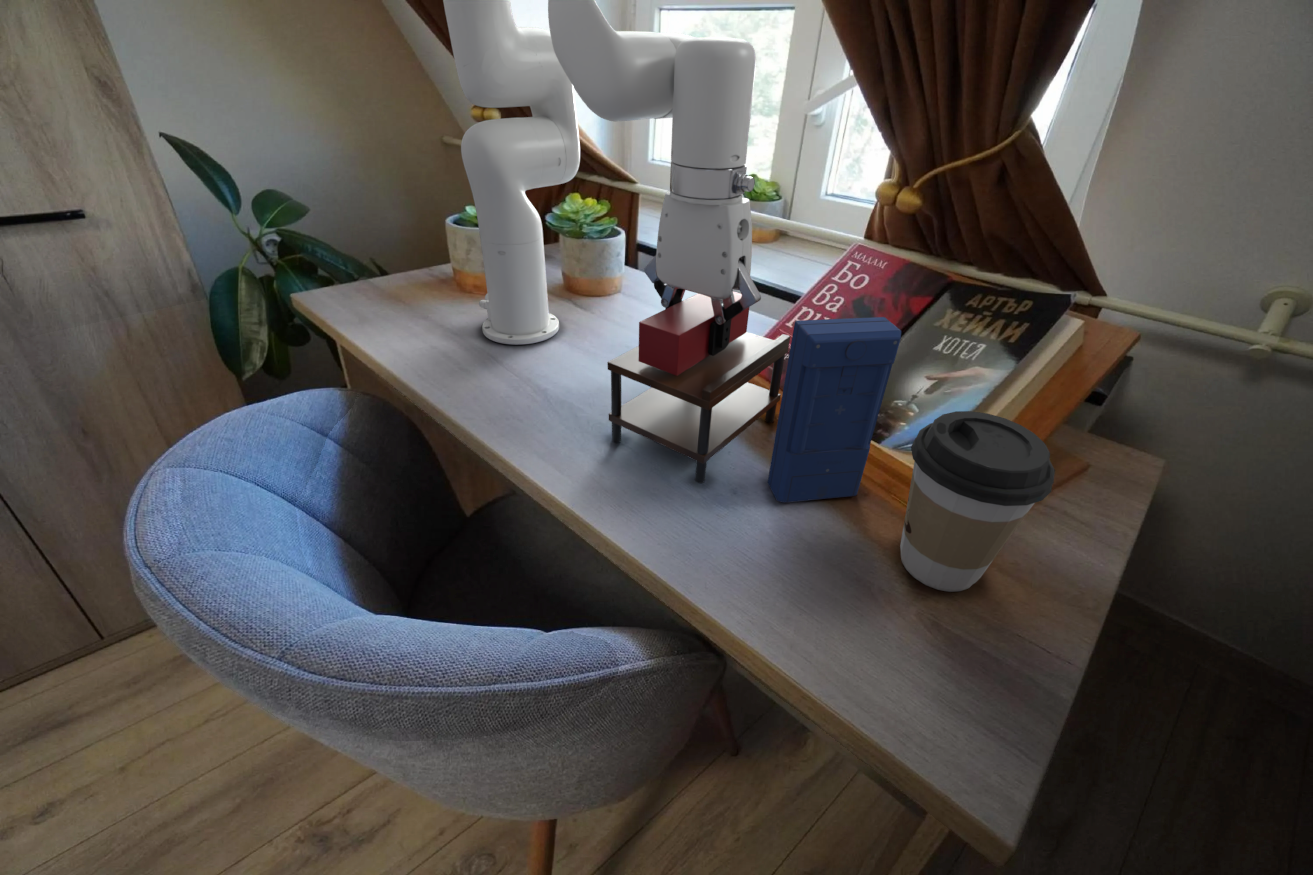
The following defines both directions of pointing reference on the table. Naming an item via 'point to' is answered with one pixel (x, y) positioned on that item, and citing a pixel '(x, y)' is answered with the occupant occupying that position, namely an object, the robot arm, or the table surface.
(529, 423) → the table surface
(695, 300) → the red rectangular block
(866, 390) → the electronic device
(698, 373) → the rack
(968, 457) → the coffee cup
